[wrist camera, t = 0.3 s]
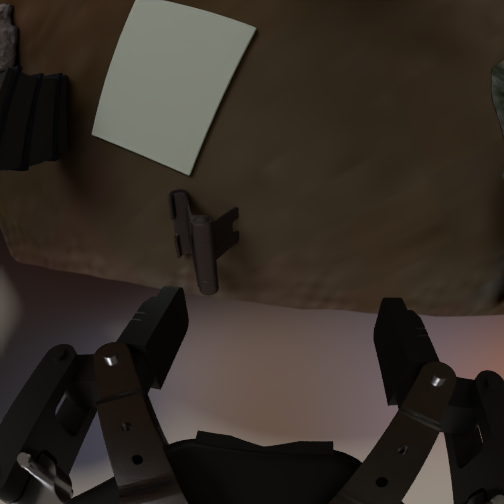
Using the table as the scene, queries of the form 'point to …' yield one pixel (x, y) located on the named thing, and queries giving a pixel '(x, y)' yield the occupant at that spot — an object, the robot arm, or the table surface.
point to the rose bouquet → (498, 93)
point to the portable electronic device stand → (202, 239)
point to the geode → (7, 37)
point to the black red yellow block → (31, 118)
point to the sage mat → (169, 80)
